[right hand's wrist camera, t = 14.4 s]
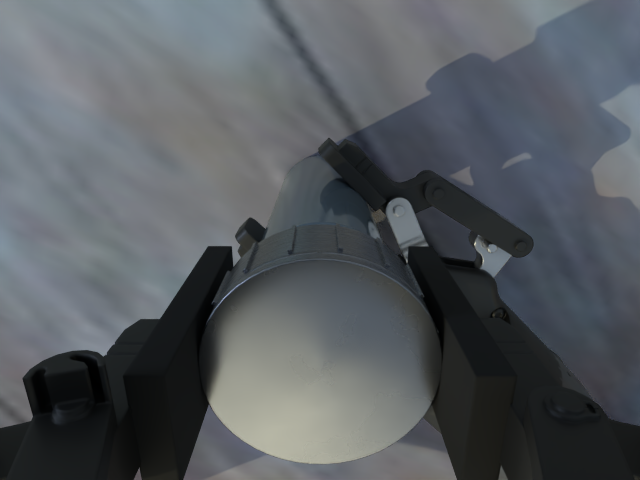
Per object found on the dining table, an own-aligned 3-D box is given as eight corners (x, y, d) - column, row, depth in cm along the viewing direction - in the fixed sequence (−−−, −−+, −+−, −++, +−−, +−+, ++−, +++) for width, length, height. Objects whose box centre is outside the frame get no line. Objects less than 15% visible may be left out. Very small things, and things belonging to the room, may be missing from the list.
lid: (375, 186, 11) (390, 213, 9) (450, 360, 13) (477, 420, 11) (179, 273, 12) (147, 318, 10) (275, 425, 14) (266, 493, 12)
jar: (347, 241, 28) (378, 417, 13) (273, 221, 28) (217, 379, 13) (371, 167, 27) (436, 274, 12) (293, 145, 26) (256, 225, 11)
